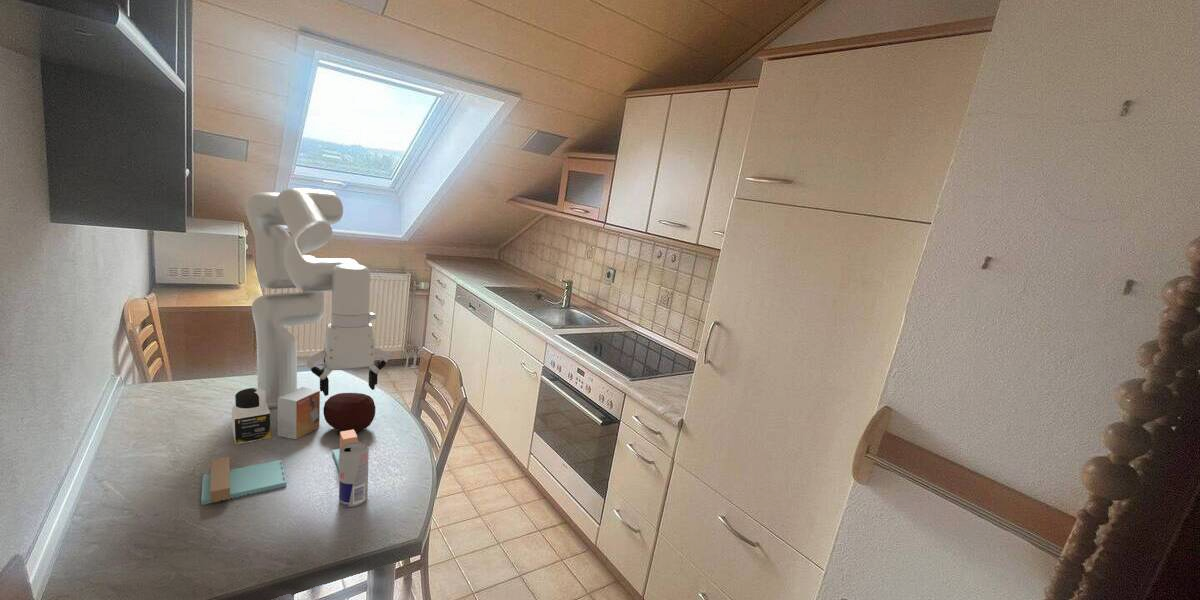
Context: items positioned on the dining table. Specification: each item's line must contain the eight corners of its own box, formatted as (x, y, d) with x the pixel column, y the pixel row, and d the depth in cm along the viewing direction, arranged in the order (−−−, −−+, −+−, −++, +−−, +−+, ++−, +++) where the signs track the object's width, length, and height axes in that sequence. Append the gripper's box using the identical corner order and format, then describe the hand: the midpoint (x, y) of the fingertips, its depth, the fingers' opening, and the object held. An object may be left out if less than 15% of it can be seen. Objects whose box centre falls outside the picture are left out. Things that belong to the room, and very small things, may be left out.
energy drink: (340, 494, 102) (340, 442, 100) (368, 490, 105) (369, 440, 102) (337, 509, 98) (338, 455, 95) (366, 505, 100) (368, 453, 97)
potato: (337, 417, 134) (338, 382, 132) (383, 424, 134) (384, 389, 132) (312, 436, 124) (312, 398, 121) (361, 443, 123) (362, 405, 121)
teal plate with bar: (203, 475, 103) (202, 461, 102) (281, 460, 112) (281, 447, 111) (201, 509, 93) (200, 493, 92) (286, 490, 102) (286, 475, 101)
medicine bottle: (235, 445, 115) (233, 398, 113) (232, 432, 121) (230, 388, 118) (271, 438, 120) (270, 393, 118) (266, 426, 125) (265, 383, 123)
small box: (296, 440, 121) (295, 401, 119) (277, 436, 122) (276, 397, 120) (320, 427, 128) (320, 390, 126) (302, 422, 129) (302, 386, 127)
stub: (332, 453, 117) (332, 427, 115) (355, 449, 120) (355, 423, 119) (340, 474, 109) (340, 446, 108) (364, 469, 112) (364, 441, 111)
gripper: (387, 313, 116) (384, 380, 119) (303, 317, 105) (303, 389, 109) (395, 321, 110) (392, 391, 114) (308, 326, 100) (308, 402, 103)
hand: (349, 390), depth 111 cm, fingers open, 9 cm apart
